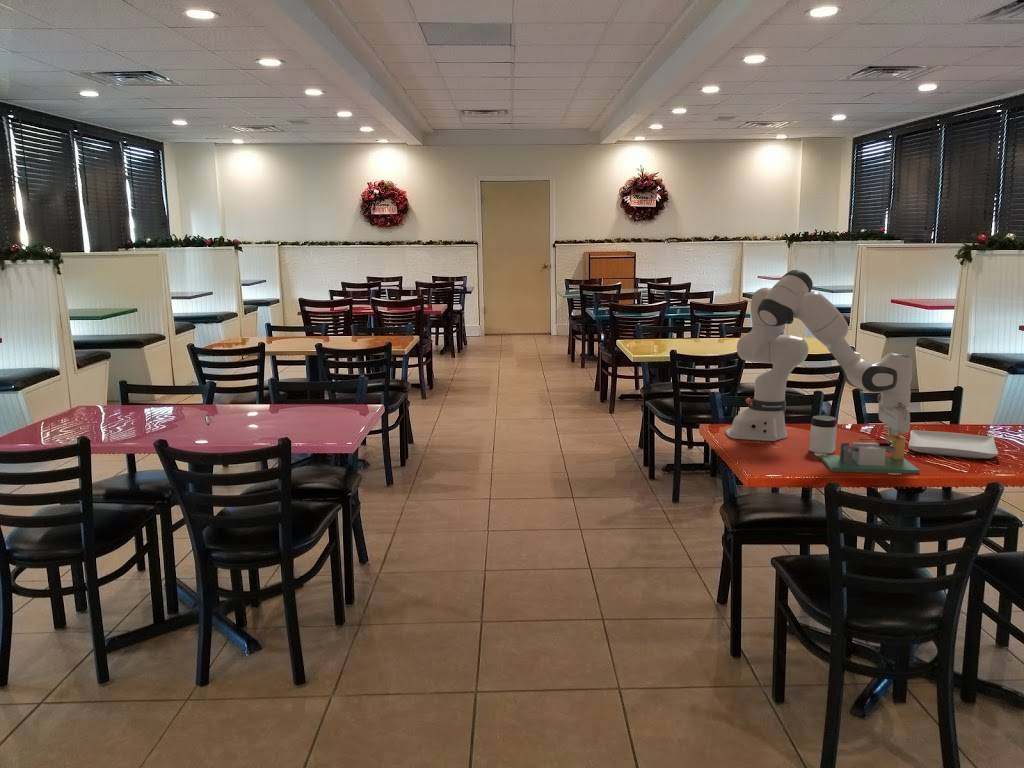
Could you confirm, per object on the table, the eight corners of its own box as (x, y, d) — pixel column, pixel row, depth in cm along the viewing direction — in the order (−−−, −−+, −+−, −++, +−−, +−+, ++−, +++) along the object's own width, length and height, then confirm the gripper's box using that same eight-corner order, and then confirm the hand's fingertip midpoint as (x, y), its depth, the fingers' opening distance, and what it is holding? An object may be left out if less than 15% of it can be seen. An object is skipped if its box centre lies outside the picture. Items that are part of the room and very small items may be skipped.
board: (831, 471, 258) (833, 450, 256) (819, 458, 273) (820, 438, 272) (919, 473, 254) (921, 452, 253) (901, 460, 270) (903, 440, 269)
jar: (840, 452, 280) (842, 419, 278) (823, 455, 277) (826, 421, 275) (820, 446, 288) (822, 414, 286) (804, 449, 285) (806, 416, 283)
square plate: (992, 445, 290) (993, 435, 289) (997, 464, 266) (998, 453, 265) (909, 437, 302) (910, 427, 301) (907, 454, 278) (908, 444, 278)
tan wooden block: (885, 459, 267) (887, 438, 265) (881, 456, 271) (883, 435, 269) (903, 459, 266) (905, 438, 265) (899, 456, 270) (901, 435, 269)
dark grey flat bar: (844, 451, 262) (844, 448, 262) (842, 448, 265) (842, 445, 265) (895, 451, 260) (895, 448, 260) (892, 449, 263) (892, 446, 263)
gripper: (916, 406, 260) (913, 447, 262) (894, 394, 280) (891, 433, 282) (896, 406, 261) (893, 447, 263) (876, 394, 281) (873, 432, 283)
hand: (892, 439), depth 273 cm, fingers closed
